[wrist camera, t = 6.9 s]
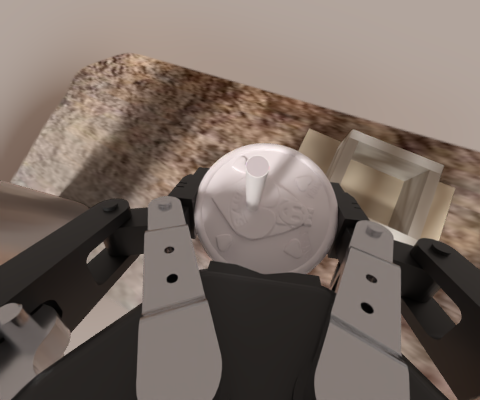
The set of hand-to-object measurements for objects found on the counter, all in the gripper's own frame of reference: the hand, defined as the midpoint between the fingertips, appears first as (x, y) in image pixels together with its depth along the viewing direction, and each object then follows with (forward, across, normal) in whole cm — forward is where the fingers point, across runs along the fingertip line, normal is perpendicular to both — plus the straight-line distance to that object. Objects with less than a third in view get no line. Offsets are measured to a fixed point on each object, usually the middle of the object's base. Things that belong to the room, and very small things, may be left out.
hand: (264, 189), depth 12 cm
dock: (+15, -14, +8) cm, 22 cm away
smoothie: (+4, 0, +6) cm, 7 cm away
